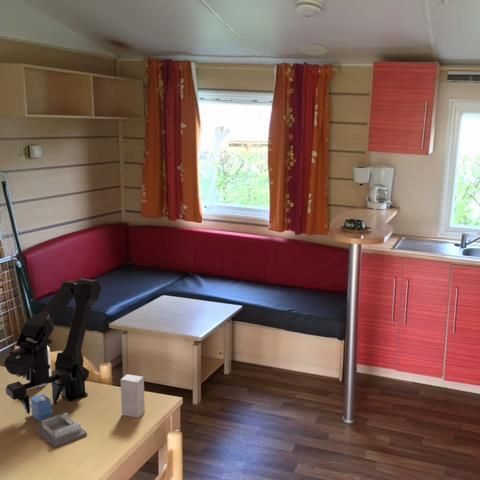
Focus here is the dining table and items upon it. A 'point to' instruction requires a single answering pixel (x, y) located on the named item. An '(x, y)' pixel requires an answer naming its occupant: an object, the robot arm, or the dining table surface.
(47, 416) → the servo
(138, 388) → the skincare box
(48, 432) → the grey shallow tray
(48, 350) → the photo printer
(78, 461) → the dining table surface
